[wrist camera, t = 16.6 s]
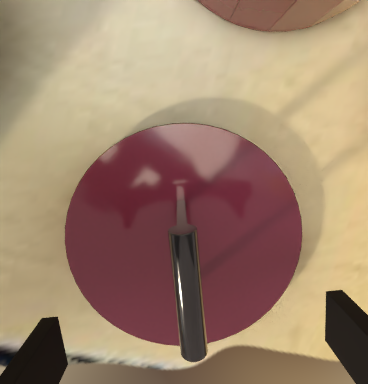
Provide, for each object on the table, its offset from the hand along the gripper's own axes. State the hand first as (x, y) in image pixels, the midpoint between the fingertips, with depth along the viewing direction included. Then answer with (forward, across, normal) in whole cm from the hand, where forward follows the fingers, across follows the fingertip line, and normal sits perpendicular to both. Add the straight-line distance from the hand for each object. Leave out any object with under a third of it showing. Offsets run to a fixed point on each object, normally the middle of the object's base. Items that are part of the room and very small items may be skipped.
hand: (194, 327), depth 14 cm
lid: (+10, 0, 0) cm, 10 cm away
